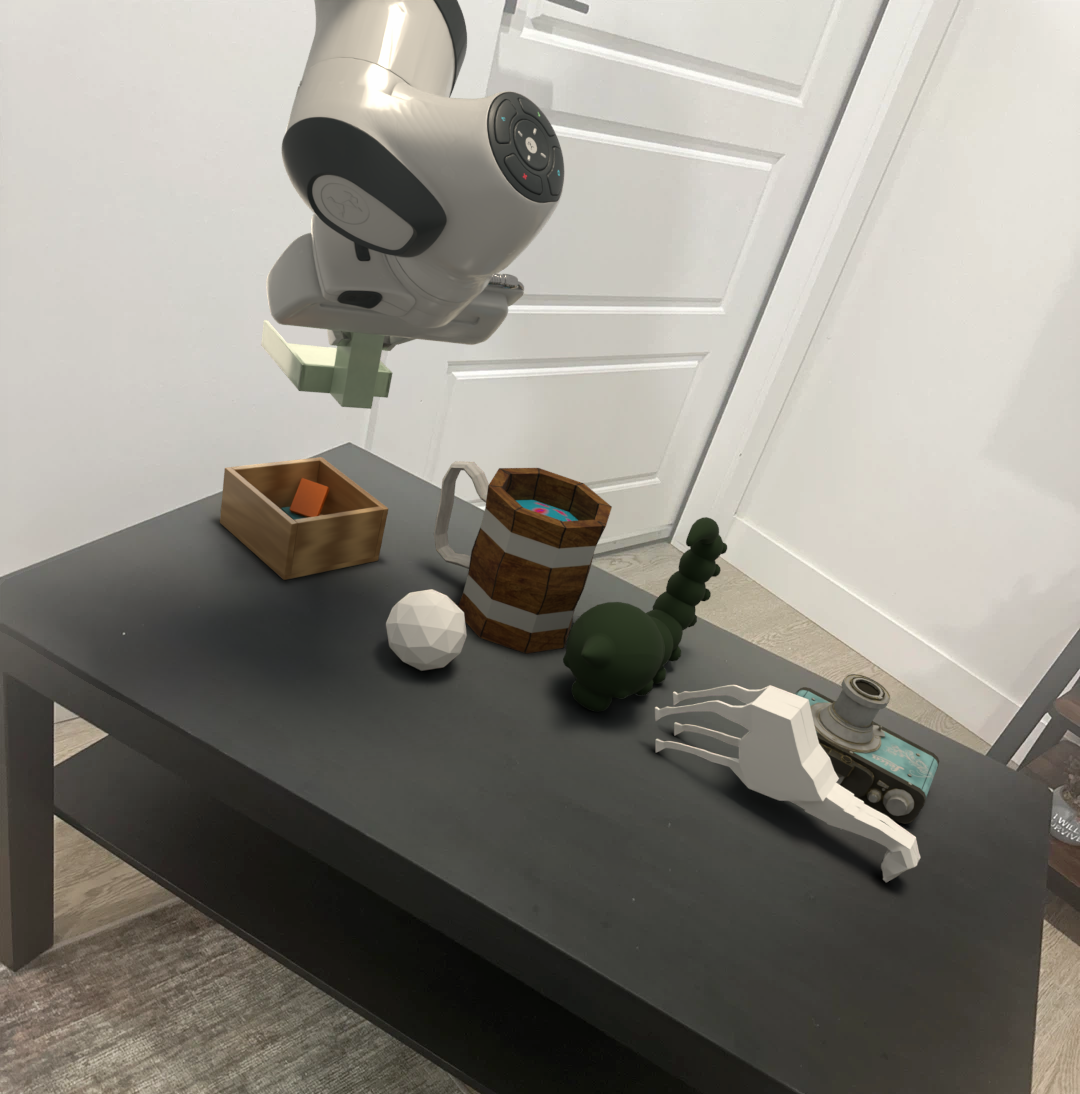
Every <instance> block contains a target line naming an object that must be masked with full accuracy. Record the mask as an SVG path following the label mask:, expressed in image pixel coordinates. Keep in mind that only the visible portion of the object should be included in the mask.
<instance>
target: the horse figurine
mask: <svg viewBox="0 0 1080 1094" xmlns="http://www.w3.org/2000/svg"><path fill="white" fill-rule="evenodd" d="M720 696H724V697H725V696H727V697H731V698H734V699H736V700H738V701H739V702H741V703H743V704H744V705H732V704H730V703H727V702H725V701H722V700H719V699H716V700H708V701H704V702H703V701H702V702H698V703H695V704H687V705H680V706H676V705H677V704H678V703H680V702H683V701H684V700H689V699H695V698H704V697H720ZM672 701H673V702H672V703H673V706H668V705H667V706H664V707H662V708H659V707H658V706H655V707H654V719H655V722H658V721H659V720H660V719H661V718H663V717H666V716H670V715H675V714H686V713H699V712H702V713H703V712H710V713H714V714H716V715H719V716H720V717H722V718H724V719H727V720H728V721H730V722H733V723H735V724H737V725H739V726H741V727H743V728H745V729H746V730H748V731H747V732H746V733H745V734H744V735H743V736H742V737H737V736H733V735H730V734H727V733H725V732H722V731H717V730H715V729H714V730H713V729H711V728H708V727H707V728H706V727H704V726H700V725H695V724H688V723H685V724H682V723H679V722H677V721H675V722H674V723H673V735H674V736H677V735H679V734H681V733H683V732H690V733H696V734H700V735H703V736H707V737H711V738H713V739H715V740H718V741H721V742H723V743H725V744H727V745H729V746H734V747H737V748H738V758H736V757H730V756H726V755H723V754H718V753H716V752H715V753H714V752H712V751H709V750H707V749H703V748H700V747H695V746H691V745H688V744H685V743H681V742H678V741H672V740H666V741H664V740H662V739H660V738H656V739H655V740H654V742H655V753H658V752H661V751H662V750H664V749H671V750H677V751H680V752H681V751H682V752H684V753H687V754H692V755H695V756H697V757H700V758H702V759H705V760H706V761H708V762H711V763H714V764H718V765H722V766H725V767H728V768H730V770H731V771H732V772H733V773H734V774H735V775H736V776H737V777H738V779H739V780H740V781H741V782H742V783H743V784H744V785H745V786H746V788H747V789H749V790H752V791H754V792H756V793H759V794H761V795H764V796H767V797H769V798H771V799H774V800H777V801H781V802H783V801H784V802H790V803H792V804H794V805H796V806H797V807H800V808H801V809H803V812H805V813H806V814H809V815H811V816H813V817H814V818H817V819H818V820H821V821H822V822H824V823H826V825H828V826H831V827H835V828H837V829H841V830H843V831H847V832H850V833H853V834H855V835H858V836H861V837H863V838H866V839H868V840H871V841H874V842H875V843H876V844H877V843H878V844H880V845H881V846H883V847H884V848H886V852H885V853H884V854H883V858H882V860H881V862H880V869H881V871H882V880H883V882H885V883H888V882H889V881H892V880H894V879H895V878H897V877H898V876H900V875H901V874H903V873H904V872H907V871H909V870H911V869H914V868H916V867H917V866H918V864H919V862H920V859H921V854H920V851H919V846H918V841H917V837H916V836H915V835H914V834H912V833H911V832H909V831H908V830H907V829H905V828H904V827H902V826H901V825H899V824H898V822H896V821H895V820H893V819H892V818H890V817H888V816H886V815H884V814H882V813H881V812H879V811H877V810H875V809H873V808H872V807H870V806H868V805H866V804H864V801H862V800H860V799H858V798H857V797H855V796H854V795H855V794H853V793H851V792H850V791H848V790H847V789H845V788H844V787H842V786H840V785H839V784H837V783H836V782H837V781H838V779H839V778H838V776H837V774H836V773H835V771H834V768H833V766H832V763H831V760H830V757H829V756H828V755H827V753H826V752H825V751H824V749H823V748H822V747H821V745H820V744H819V741H818V737H817V734H816V730H815V726H814V722H813V717H812V713H811V708H810V704H809V700H808V699H806V698H803V697H800V696H798V695H795V693H792V692H789V691H787V690H785V689H782V688H779V687H776V686H773V685H771V684H769V685H766V686H765V687H763V688H760V689H748V688H745V687H743V686H740V685H737V684H728V685H723V686H717V687H713V688H709V689H702V690H694V691H687V690H684V691H682V692H679V693H678V692H676V691H673V692H672ZM674 736H673V737H674Z"/></svg>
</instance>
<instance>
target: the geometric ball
mask: <svg viewBox="0 0 1080 1094" xmlns="http://www.w3.org/2000/svg"><path fill="white" fill-rule="evenodd" d="M385 629H386V634H387V640H388V647H389V649H391V650H392V652H393V653H394V654H395V655H396V656H397V657H398V658H399V659H400V660H401V661H402V662H403V663H405V664H407V665H409V666H411V667H413V668H415V669H417V670H419V671H421V672H422V671H429V670H435V669H442V668H445V667H446V666H447V665H449V664H450V663H451V662H452V661H453V660H454V659H455V658H457V657H458V656H459V655H460V654H461V653H462V651H463V647H464V644H465V642H466V639H467V637H468V635H467V627H466V622H465V617H464V612H463V611H462V610H461V609H460V608H459V607H458V604H456V602H454V601H453V600H452V599H451V598H450V596H448V595H447V594H445V593H441V592H440V591H437V590H435V589H432V588H430V589H425V590H418V591H412V592H409V593H407V594H406V595H405V596H403V597H402V598H401V599H400V600H398V601H397V602H396V603H395V605H393V606H392V607H391V610H390V612H389V615H388V617H387V620H386V622H385Z"/></svg>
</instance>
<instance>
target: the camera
mask: <svg viewBox="0 0 1080 1094" xmlns="http://www.w3.org/2000/svg"><path fill="white" fill-rule="evenodd" d="M840 685H841V691H840V693H839V695H838V697H837V699H836V700H834V699H832V698H830V697H829V696H826V695H824V694H822V693H820V692H818V691H816V690H815V689H813V688H811V687H806V686H804V687H800V688H799V689H798V690H797V691H796V692H795V693H794V694H795V695H798V696H800V697H803V698H806V699H808V700H809V704H810V708H811V713H812V717H813V722H814V726H815V730H816V734H817V737H818V741H819V744H820V745H821V747H822V748H823V749H824V751H825V752H826V753H827V755H828V756H829V757H830V760H831V763H832V766H833V768H834V771H835V773H836V774H837V776H838V778H839V779H838V781H837V782H836V783H837V784H839V785H840V786H842V787H844V788H845V789H847V790H848V791H850V792H851V793H853V794H855V795H854V796H855V797H857V798H858V799H860V800H862V801H864V804H866V805H868V806H869V807H871V808H873V809H875V810H877V811H879V812H880V813H882V814H884V815H886V816H888V817H889V818H890V819H892V820H893V821H894V822H896V823H900V824H904V825H905V824H910V823H912V822H913V821H915V819H916V818H917V816H918V815H919V813H920V812H921V811H922V809H923V808H924V806H925V804H926V801H927V797H928V795H929V791H930V789H931V787H932V784H933V781H934V778H935V775H936V773H937V771H938V768H939V765H940V759H939V757H938V756H937V755H936V754H935V753H934V752H932V751H930V750H929V749H927V748H925V747H922V746H921V745H919V744H917V743H915V742H913V741H911V740H909V739H908V738H906V737H903V736H902V735H900V734H898V733H896V732H895V731H893V730H891V729H888V728H887V727H885V726H883V725H881V724H879V723H877V722H875V721H874V720H875V718H876V716H877V715H878V713H880V710H883V709H884V708H887V706H888V705H889V703H890V701H891V695H890V692H889V691H888V690H887V688H885V687H884V686H883V685H882V684H881V683H880V682H879V681H876V680H875V679H873V678H871V677H869V676H866V675H863V674H858V673H850V674H847V675H846V676H844V678H843V680H842V682H841V684H840Z"/></svg>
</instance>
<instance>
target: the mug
mask: <svg viewBox="0 0 1080 1094" xmlns="http://www.w3.org/2000/svg"><path fill="white" fill-rule="evenodd" d="M461 471H464V472H465V473H466V475H468V477H469V478H470V479H471V481H472V484H473V486H474V489H475V492H476V494H477V496H478V497H479V499H480V500H482V501H483V502H484V504H485V508H484V512H483V516H482V519H481V522H480V527H479V529H478V532H477V535H476V538H475V540H474V542H473V546H472V549H471V552H470V555H468V554H463V553H456V552H455V550H454V549H453V548H452V546H450V544H449V535H448V530H449V525H450V520H451V516H452V512H453V507H454V503H455V493H456V482H457V480H458V477H459V476H460V473H461ZM440 488H441V490H440V497H439V504H438V509H437V513H436V518H435V524H434V530H433V540H434V546H435V551H436V552H437V553H438V555H439V556H440V557H441V558H442V559H443V560H444V561H445V562H446V563H449V564H452V565H456V566H459V567H462V568H465V569H467V571H468V572H467V577H466V581H465V584H464V588H463V592H462V595H461V597H460V600H459V602H458V604H457V606H458V607H459V608H460V609H461V610H462V611H463V612H464V617H465V624H467V626H468V627H469V628H470V629H471V630H472V631H473V632H474V634H476V635H477V636H478V638H480V639H482V640H485V641H488V642H491V643H495V644H497V645H500V646H502V647H506V648H509V649H512V650H515V651H516V652H517V651H518V652H521V653H523V654H532V653H538V652H539V653H540V652H544V651H552V650H559V649H564V648H565V646H566V644H567V640H568V636H569V633H570V630H571V628H572V625H573V624H572V623H573V619H574V614H575V610H576V608H577V606H578V603H579V601H580V599H581V596H582V594H583V592H584V590H585V587H586V584H587V580H588V577H589V574H590V570H591V567H592V563H593V560H594V555H595V551H596V547H597V545H598V543H599V542H600V539H601V538H602V535H603V533H604V531H605V529H606V527H607V524H608V521H609V517H610V515H611V512H612V508H613V506H612V505H610V503H608V502H607V501H606V500H605V499H603V498H602V497H601V496H600V495H598V494H597V493H596V492H595V491H594V490H593V489H591V488H590V487H589V486H588V485H586V484H585V483H584V482H581V481H578V480H575V479H572V478H569V477H567V476H563V475H560V474H558V473H555V472H552V471H550V470H546V469H543V468H541V467H498V469H497V471H496V473H495V474H494V475H493V477H492V479H491V481H490V482H489V480H488V477H487V475H486V473H485V472H484V471H483V470H482V468H480V466H479V465H478V463H476V462H475V461H465V460H464V461H463V460H462V461H461V460H460V461H458V460H455V461H454V462H452V463H451V464H450V466H449V468H448V469H447V470H446V472H445V474H444V476H443V478H442V482H441V487H440Z"/></svg>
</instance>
